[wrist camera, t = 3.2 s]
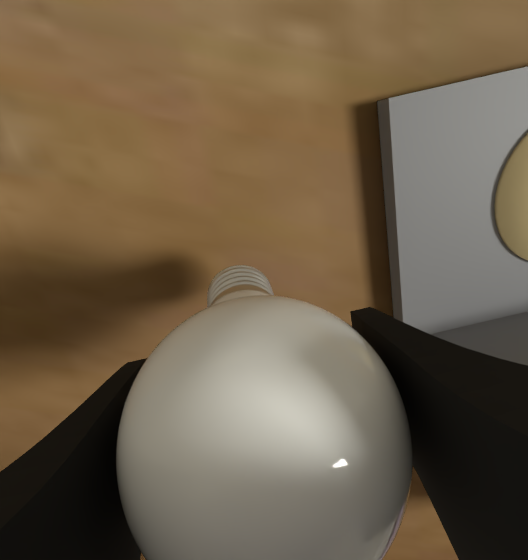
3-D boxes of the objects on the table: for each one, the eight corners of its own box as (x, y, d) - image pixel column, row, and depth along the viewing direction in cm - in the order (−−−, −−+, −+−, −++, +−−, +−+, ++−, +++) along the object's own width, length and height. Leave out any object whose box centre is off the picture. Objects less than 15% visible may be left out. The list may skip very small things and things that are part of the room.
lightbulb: (161, 345, 16) (80, 724, 6) (165, 207, 13) (37, 455, 3) (295, 350, 17) (417, 672, 7) (322, 224, 14) (569, 445, 5)
